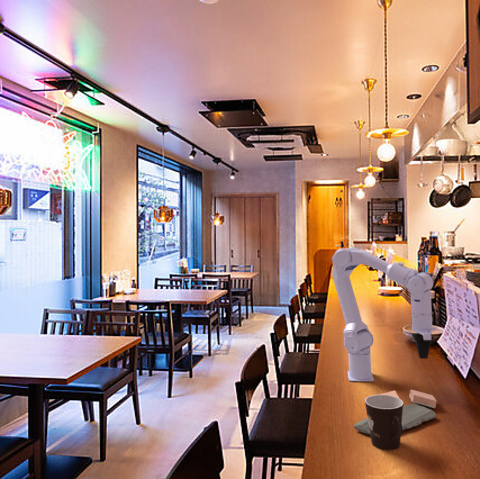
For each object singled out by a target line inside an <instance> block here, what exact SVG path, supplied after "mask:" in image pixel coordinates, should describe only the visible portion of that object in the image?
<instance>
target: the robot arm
mask: <svg viewBox="0 0 480 479" xmlns="http://www.w3.org/2000/svg"><path fill="white" fill-rule="evenodd" d="M331 261H332V271H331V272H332V273H331V276H332V279H333V282H334V287H335V289H336V294H337V297H338V301H339V305H340V308H341V311H342V314H343V319H344V322H345V327H344V328H343V331H342V333H343V344H344V348H345V350H346V351H347V354H348V370H347V377H348V382H375V380H374V376H373V372H372V360H371V359H372V358H371V347H372V346H373V344H374V342H375V341H374V336H373V334H372V332H371V331H370V330H369V327H368V325H367V324H366V323H365V322H364V321H363V319H362V316H361V312H360V310H359V306H358V302H357V298H356V296H355V292H354V289H353V284H352V282H351V281H352V280H351V278H350V276H351V274H352V273H353V271H354V270H355V269H356V268H357V267H358V266H360V265H365V266H368V267H371V268H372V269H375V270H377V271H380V272H382V273H385V274H386V276H387V279H389V280H391V281H392V282H394V283H397V284H399V285H401V286H402V287H405V288H407V290H408V292H409V293H410V310H411V311H410V312H411V314H410V316H411V328H410V330H411V331H412V332H413V333H411V336H412V338H413V340H414V342H415V346H416V351H417V354H418V358H419V359H421V360H422V359H424V360H425V359H428V357H429V352H430V348H431V346H432V342H433V341H434V336H433V334H432V333H433V332H434V331H437V330H438V329H437V327H436V326H433V317H432V313H433V312H432V309H433V308H432V293H431V290H432V288H433V286H434V279H433V277H432V276H431V275H430V274H428V273H427V272H423V271H422V272H419V270H418V269H416V268H415V269H413V268H411V267H410V268H409V267H407V266H406V265H405V263H404V262H401V261H400V262H396V261H395V262H393V263H390V262H388V261H386V260H383V259H382V258H380V257H378V256H376V255H374V254H372V253H370V252H368V251H367V250H365V249H363V248H362V249H361V248H359V247H357V246H354V247H346V248H338V249H337V250H336V251H335V252H334V254H333V256H331Z"/></svg>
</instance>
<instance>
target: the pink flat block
mask: <svg viewBox="0 0 480 479" xmlns="http://www.w3.org/2000/svg"><path fill="white" fill-rule="evenodd" d="M408 395H409V399H410V400H411V402H412V403H413V404H417V405H421V406H424V407H426V406H427V407H428V408H433V409H436V406H437V400H436V398H435V396H434V395H432V394H428V393H427V392H426V393H425V392H421V391H418V390H414V389H410V391H409V394H408Z"/></svg>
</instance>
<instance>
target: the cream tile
mask: <svg viewBox="0 0 480 479" xmlns="http://www.w3.org/2000/svg"><path fill="white" fill-rule="evenodd" d="M397 393H398V392H397V391H396V390H390V391H388V392H384V393H381V394H380V393H379V394H378V395H390V396H394V397H397V398H399V399H400V397H399V395H398V394H397Z"/></svg>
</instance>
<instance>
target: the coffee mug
mask: <svg viewBox="0 0 480 479" xmlns="http://www.w3.org/2000/svg"><path fill="white" fill-rule="evenodd" d="M364 404H365V410H366V411H365V412H366V416H367V417H366V418H368V424H369V430H370V434H369V435H370V441H371V444H372V446H373V447H375V448H376V449H380V450H383V451H395V450H397V449H399V448H400V446H401V436H402V434H403V431H404V430H403V429H402V412H403V406H404V401H403V399H401V398H400V397H399V398H397V397H394V396H390V395H379V394H374V395H373V394H372V395H369V396H367V397H366V398H364Z"/></svg>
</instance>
